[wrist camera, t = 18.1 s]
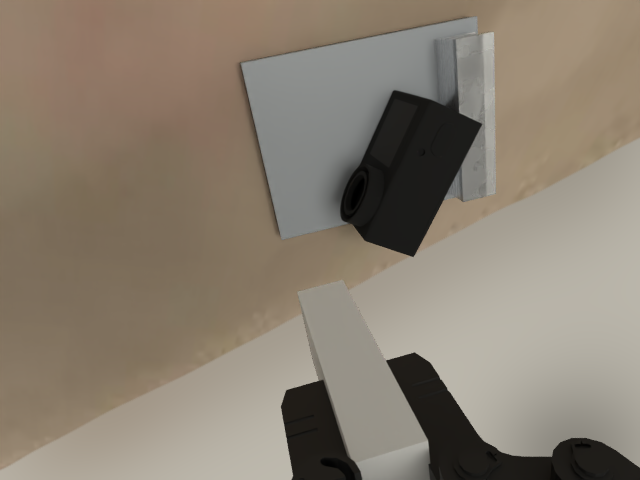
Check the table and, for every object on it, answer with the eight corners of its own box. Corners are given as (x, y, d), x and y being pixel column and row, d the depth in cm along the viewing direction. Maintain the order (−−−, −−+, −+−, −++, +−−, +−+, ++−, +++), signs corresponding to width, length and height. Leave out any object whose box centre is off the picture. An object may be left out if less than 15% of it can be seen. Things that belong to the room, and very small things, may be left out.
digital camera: (380, 81, 35) (416, 89, 29) (439, 108, 37) (484, 122, 31) (326, 203, 38) (348, 236, 32) (383, 223, 40) (414, 258, 34)
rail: (443, 189, 40) (463, 201, 37) (434, 39, 35) (456, 39, 32) (475, 181, 40) (498, 193, 37) (471, 31, 35) (496, 31, 32)
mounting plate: (279, 233, 40) (281, 240, 39) (239, 62, 34) (240, 63, 33) (473, 186, 42) (481, 190, 41) (467, 17, 36) (477, 16, 35)
